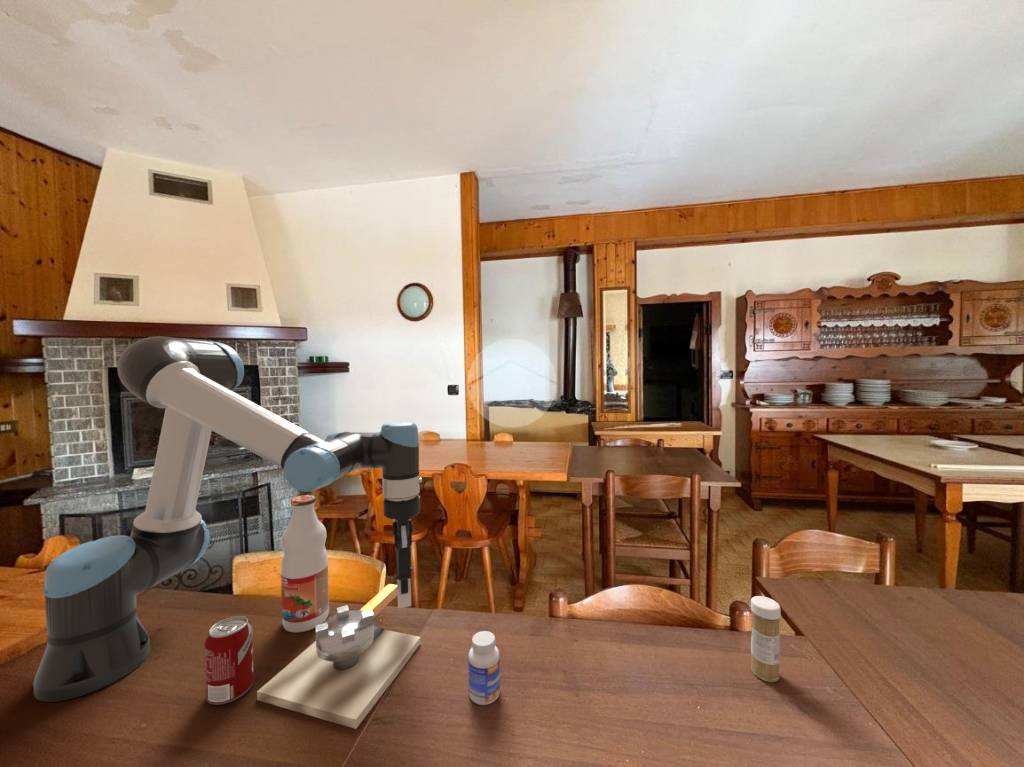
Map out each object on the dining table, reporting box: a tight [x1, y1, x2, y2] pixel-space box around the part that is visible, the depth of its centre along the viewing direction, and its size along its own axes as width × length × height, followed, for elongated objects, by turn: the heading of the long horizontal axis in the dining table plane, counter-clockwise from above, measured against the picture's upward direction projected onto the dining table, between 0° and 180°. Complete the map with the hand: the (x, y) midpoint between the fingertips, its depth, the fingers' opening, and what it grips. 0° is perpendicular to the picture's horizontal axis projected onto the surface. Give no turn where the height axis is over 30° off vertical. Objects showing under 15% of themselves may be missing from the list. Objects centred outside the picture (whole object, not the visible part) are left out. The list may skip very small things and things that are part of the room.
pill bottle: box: [467, 630, 501, 706], centre depth 68 cm, size 5×5×10 cm
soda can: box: [204, 615, 255, 706], centre depth 69 cm, size 7×7×12 cm
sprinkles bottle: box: [750, 595, 781, 683], centre depth 72 cm, size 5×5×13 cm
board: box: [256, 625, 422, 730], centre depth 74 cm, size 20×20×5 cm
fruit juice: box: [280, 494, 330, 633], centre depth 89 cm, size 9×9×28 cm
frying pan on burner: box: [314, 583, 397, 662], centre depth 79 cm, size 21×10×4 cm, turn 164°
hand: (404, 605), depth 84 cm, fingers closed
